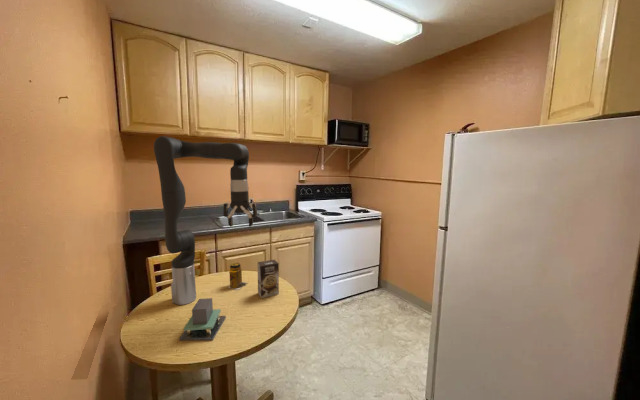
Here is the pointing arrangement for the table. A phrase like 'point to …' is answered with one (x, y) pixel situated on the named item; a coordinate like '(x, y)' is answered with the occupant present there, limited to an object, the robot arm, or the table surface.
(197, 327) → the board
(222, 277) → the table surface
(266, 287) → the coffee box
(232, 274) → the condiment
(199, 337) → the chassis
